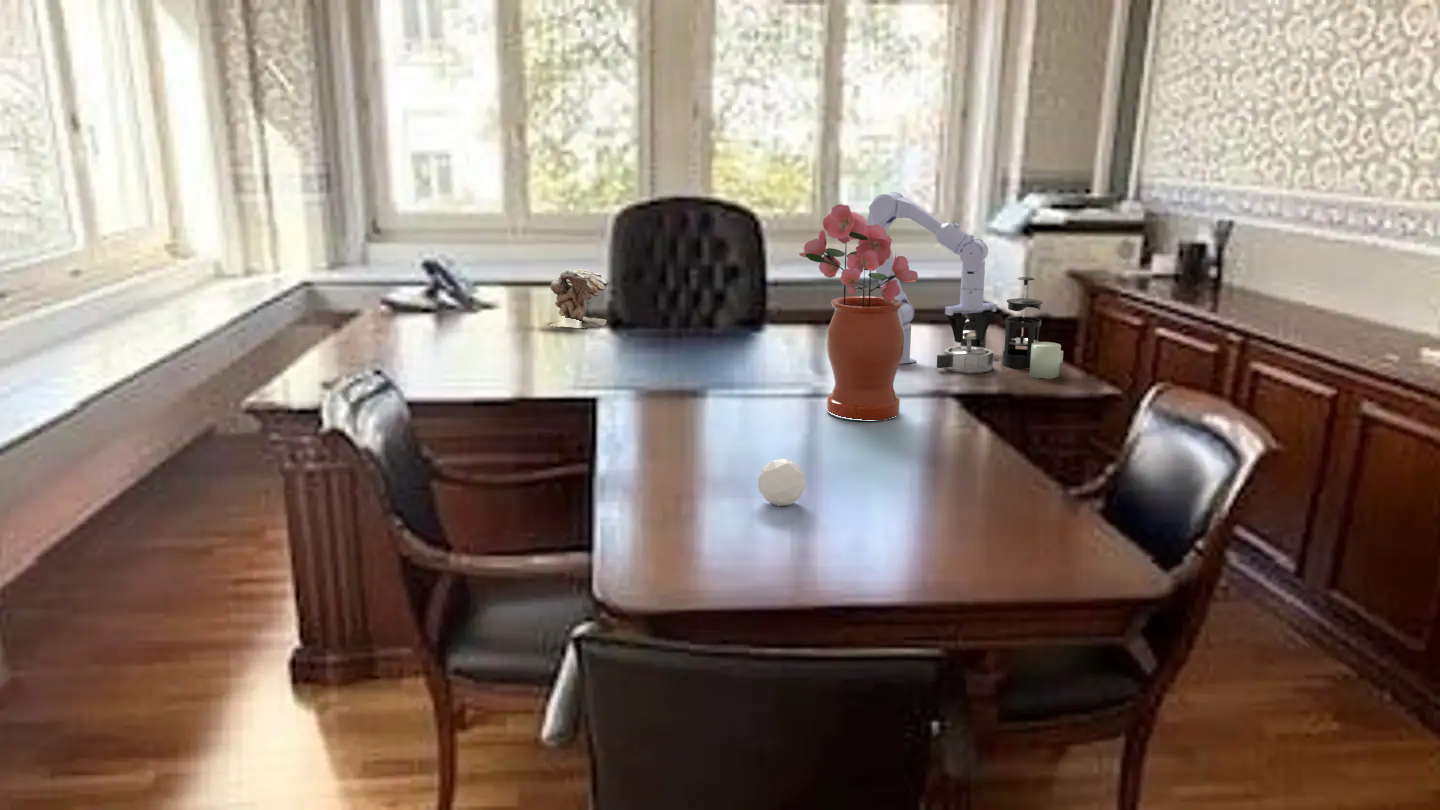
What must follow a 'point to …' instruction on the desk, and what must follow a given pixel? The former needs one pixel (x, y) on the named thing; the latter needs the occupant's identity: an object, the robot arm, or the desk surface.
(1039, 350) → the sage mug
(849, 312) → the potted flower
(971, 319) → the supplement bottle
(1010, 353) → the french press
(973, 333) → the plunger
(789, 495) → the geometric ball
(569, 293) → the cherub figurine
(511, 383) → the desk surface
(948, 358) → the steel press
